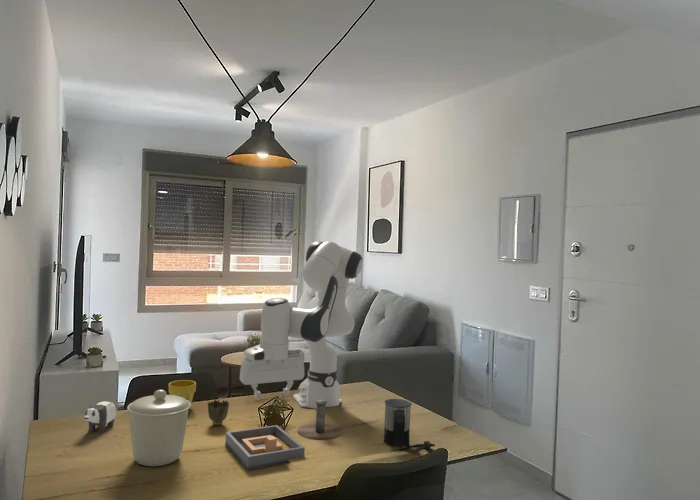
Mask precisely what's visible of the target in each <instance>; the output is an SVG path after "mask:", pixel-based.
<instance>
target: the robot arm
mask: <svg viewBox="0 0 700 500" xmlns="http://www.w3.org/2000/svg"><path fill="white" fill-rule="evenodd" d="M305 261H306V262H305V264H304V266H303V270H302V276H303V280H304V282H305V283H306V285H307V286H308V287H309V288H310V289H312V290H313V291H315V292H317V297H318V301H317V305H316V306H314V307H313V308H302V307H295V306H293V305H290V302H289V300H288V299H287V298H284V297H274V298H269V299H266V300H265V301H264V302H263V306H262V309H261V310H262V311H261V318H260V331H261V335H260V339H259V344H257V345H254V346H252V347H250V348H246V349H245V350H244V351H243V356H244V357H245V358H243V360H242V361H241V364H240V368H239V369H240V370H239V381H240V382H241V383H242V384H243V385H245V386H247V385H248V386H249V385H250V387H251V389H252V391H253V392H254V393H253V397H254V398H255V399H259V398H260V399H261V397H262V396H261V395H262V393H261V391H259V390H258V389H257V388H258V386H259V384H269V383H280V382H286V383H287V384H286V386H285V387H284V388H282V394H283V395H284V396H288V395H290V391H291V388H292V386H293V385H294V381H300V380H303V379H304V377H305V363H304V361H305V357H306V356H305V353H304V352H303V351H302V350H301V349H296V350H295V349H294V350H293V349H292V350H289V349H290V348H289V347H290V346H289V345H290V344H289V342H290V340H289V337H290V338H291V339H292V338H294V339H301V340H304V341H305V343H306V345H307V347H308V350H309V368H308V369H307V376H306V379H304V380H303V381H302V382H301V383H300V384H299V386H298V388H297V393H295V394H293V399H294V400H295V401H296V403H298V405H299V407H302V408H310V409H317V404H316V400H325V401H327V404H325V408H328V407H336V406H337V407H339V405H340V404H341V403H342V402H343V401H342V400H343V399H341V397H340V383H339V381H338V370H337V366H338V365H337V362H338V353H337V351H336V349H335V348H334V347H332V346H331V345H329V344H327V342H326V341H327V340H326V338H335V337H337V338H338V337H339V338H340V337H342V336H347V335H350V334H351V333H352V332H353V330H354V328H355V323H356V322H355V318H354V316H353V314H352V313H351V312H350V311H349V309H348V308H347V307H346V297H347V291H348V286H349V281H350V280H353V279H356V278H357V277H358V276H359V274H360V273H361V271H362V270H363V266H364V265H363V262H364V259H363V256H362V255H361V254H360V253H359V252H357V251H352V250H351V249H348V248H346V247H343V246H341V245H339V244H337V243H335V242H333V241H330V240H329V241H325V242H324V241H320V240H319V241H314V242H311V243H310V244H309V247H307V249H306V254H305Z"/></svg>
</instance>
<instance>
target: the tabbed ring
mask: <svg viewBox="0 0 700 500" xmlns="http://www.w3.org/2000/svg"><path fill="white" fill-rule="evenodd" d="M262 442H265V446H264V447H257V448H255V447H254V446H253V445H252V444H256V443H262ZM242 445H243V446H244V447H245V448H246V449H247V450H248V451H249V452H250V453H251V454H252V455H255V454H261V453H267V452H273V451H279V450H283V444H281V442H279V441H278V439H277V437H275V436H274V435H272V434H270V435H264V436H260V437H254V438H247V439H242Z"/></svg>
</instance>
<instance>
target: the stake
mask: <svg viewBox="0 0 700 500" xmlns="http://www.w3.org/2000/svg"><path fill="white" fill-rule="evenodd" d="M316 404H317V408H316V415H315V423H311V424H310V423H309V424H304V425H302V426H299V427H298V428H297V430H296V434H297V435H298V436H300V437H301V438H304V439H308V440H314V441H329V440H335V439H338V438H340V437H341V436H342V435H343V434H344V432H343V430H342V428H340V427H339V426H336V425H333V424H332V425H331V424H327V423H325V422H326V407H325V404H327V401H325V400H316Z"/></svg>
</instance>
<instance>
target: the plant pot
mask: <svg viewBox="0 0 700 500" xmlns="http://www.w3.org/2000/svg"><path fill="white" fill-rule="evenodd" d="M196 392H197V383H196V381H194V380H191V379H190V380H189V379H188V380H187V379H180V380H174V381H171V382H169V383H168V393H169V395H175V396H180V397H182V398H184V399H186V400H188V401H189V402H190V403H191V405H192V403H193V398H194V394H195V393H196ZM191 407H192V406H191ZM191 407H190V408H189V409H191ZM189 409H188V410H189Z"/></svg>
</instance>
